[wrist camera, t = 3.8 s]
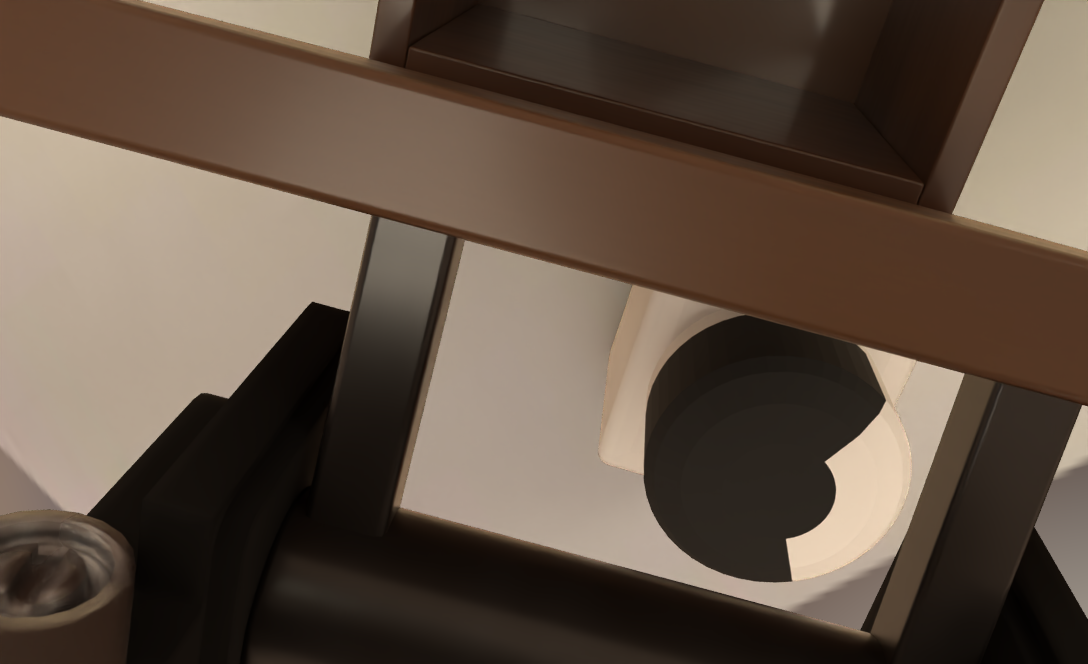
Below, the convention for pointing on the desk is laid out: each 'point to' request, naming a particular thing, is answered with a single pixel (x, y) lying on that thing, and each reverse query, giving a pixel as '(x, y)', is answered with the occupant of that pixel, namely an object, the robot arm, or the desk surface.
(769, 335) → the medicine bottle
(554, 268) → the desk surface
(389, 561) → the lid
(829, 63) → the chest
